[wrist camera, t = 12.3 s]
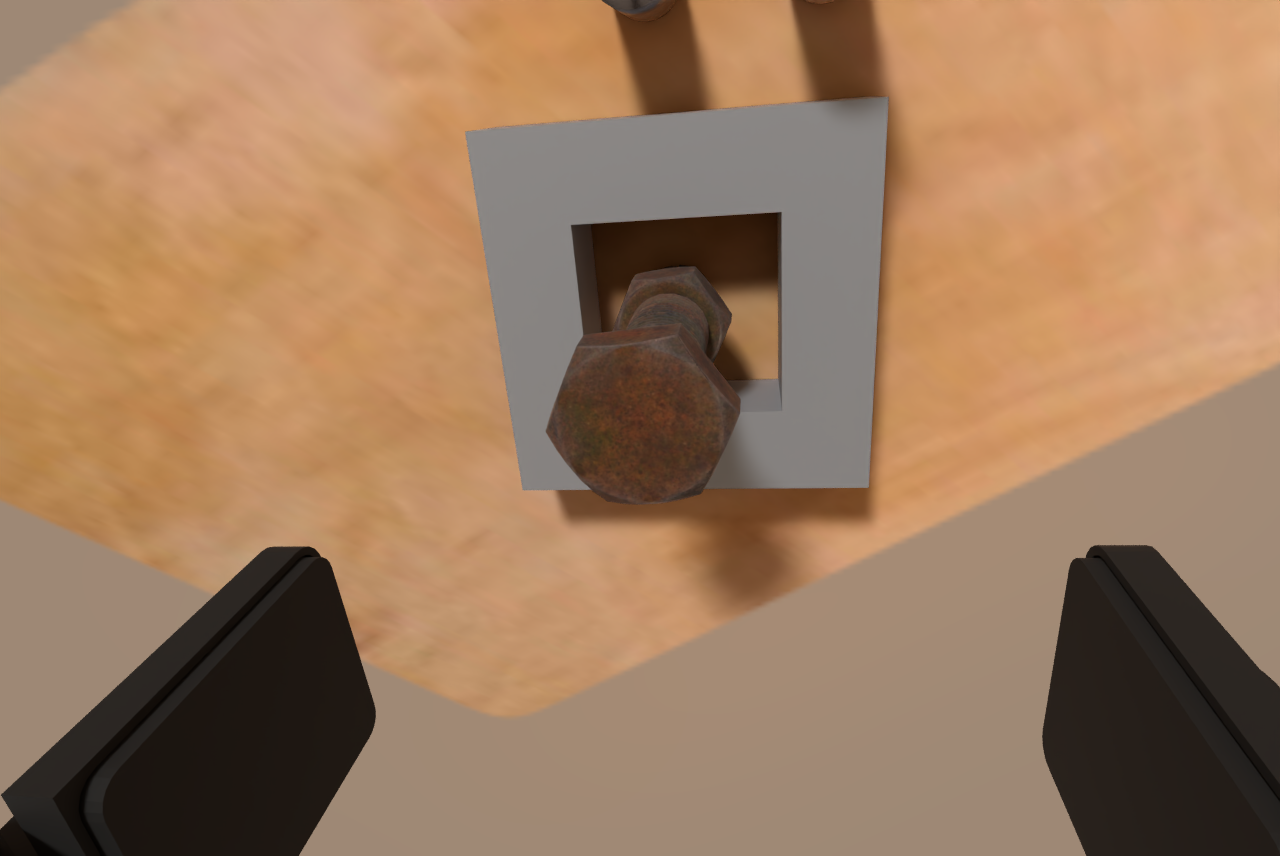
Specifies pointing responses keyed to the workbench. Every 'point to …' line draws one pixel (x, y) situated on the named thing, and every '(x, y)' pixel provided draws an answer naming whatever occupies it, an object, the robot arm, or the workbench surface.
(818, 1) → the pin mid
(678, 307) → the bolt
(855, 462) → the frame
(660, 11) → the pin short
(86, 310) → the workbench surface
